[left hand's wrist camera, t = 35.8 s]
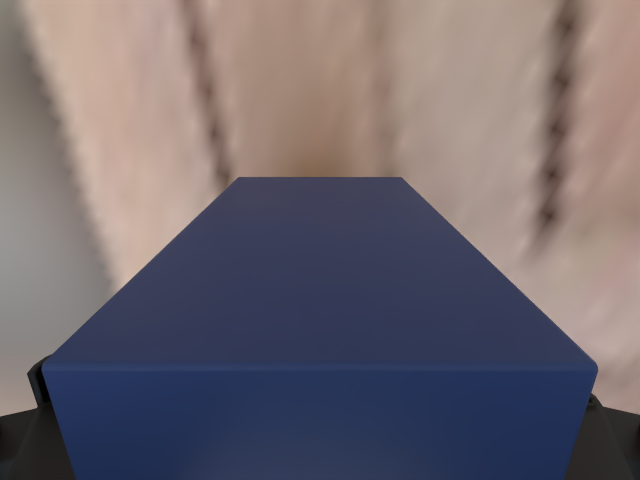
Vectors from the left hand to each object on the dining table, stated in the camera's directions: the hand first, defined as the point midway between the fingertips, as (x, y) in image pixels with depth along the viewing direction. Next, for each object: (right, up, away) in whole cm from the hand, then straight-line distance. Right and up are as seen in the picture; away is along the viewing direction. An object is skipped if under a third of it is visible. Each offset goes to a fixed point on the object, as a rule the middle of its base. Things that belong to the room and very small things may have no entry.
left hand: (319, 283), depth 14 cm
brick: (0, +1, +3) cm, 3 cm away
